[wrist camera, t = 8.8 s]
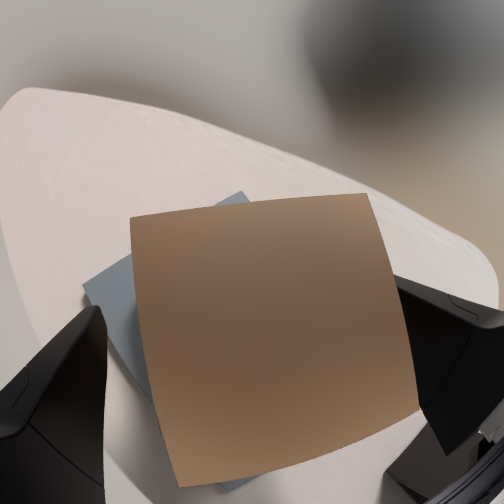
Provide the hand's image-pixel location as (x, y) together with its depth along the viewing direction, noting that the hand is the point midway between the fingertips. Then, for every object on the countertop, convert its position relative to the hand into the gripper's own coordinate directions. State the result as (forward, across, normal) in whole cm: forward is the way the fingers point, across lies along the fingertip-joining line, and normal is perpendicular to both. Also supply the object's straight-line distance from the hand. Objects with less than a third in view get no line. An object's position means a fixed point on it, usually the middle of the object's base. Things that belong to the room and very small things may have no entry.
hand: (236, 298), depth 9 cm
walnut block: (+5, 0, +7) cm, 8 cm away
